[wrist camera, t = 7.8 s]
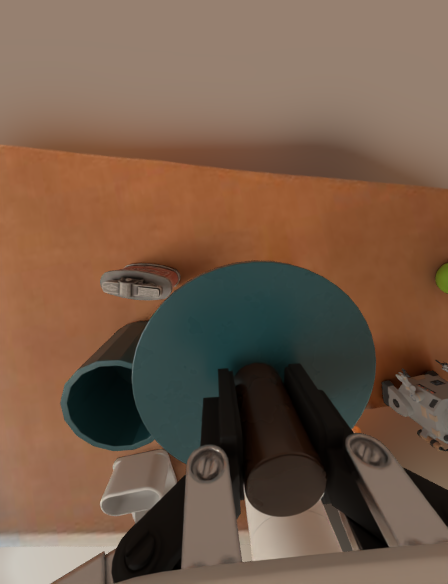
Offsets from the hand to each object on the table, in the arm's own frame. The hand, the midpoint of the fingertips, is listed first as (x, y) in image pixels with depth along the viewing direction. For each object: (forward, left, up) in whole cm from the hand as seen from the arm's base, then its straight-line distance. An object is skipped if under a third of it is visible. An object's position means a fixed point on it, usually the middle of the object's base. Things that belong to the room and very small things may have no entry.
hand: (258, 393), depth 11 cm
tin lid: (0, 0, -1) cm, 1 cm away
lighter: (+11, -2, -24) cm, 27 cm away
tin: (+14, +11, -24) cm, 29 cm away
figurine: (-30, +17, -24) cm, 42 cm away
